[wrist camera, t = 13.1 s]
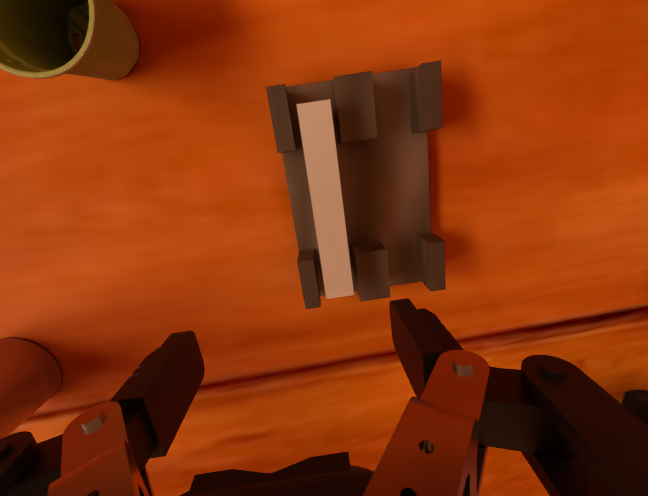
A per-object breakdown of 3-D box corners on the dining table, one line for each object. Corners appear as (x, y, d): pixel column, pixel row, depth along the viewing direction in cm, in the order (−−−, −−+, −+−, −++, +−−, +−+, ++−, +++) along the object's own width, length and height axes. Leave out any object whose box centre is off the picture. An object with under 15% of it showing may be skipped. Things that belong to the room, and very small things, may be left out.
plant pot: (145, -26, 25) (64, -113, 17) (170, 96, 28) (110, 72, 20) (35, -19, 25) (-101, -103, 17) (70, 103, 28) (-31, 82, 20)
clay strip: (324, 273, 32) (326, 298, 27) (300, 114, 28) (296, 104, 22) (346, 270, 32) (354, 295, 27) (326, 110, 28) (330, 99, 22)
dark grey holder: (307, 291, 35) (306, 313, 30) (273, 92, 28) (264, 80, 24) (427, 274, 34) (445, 293, 30) (419, 70, 28) (440, 53, 23)
